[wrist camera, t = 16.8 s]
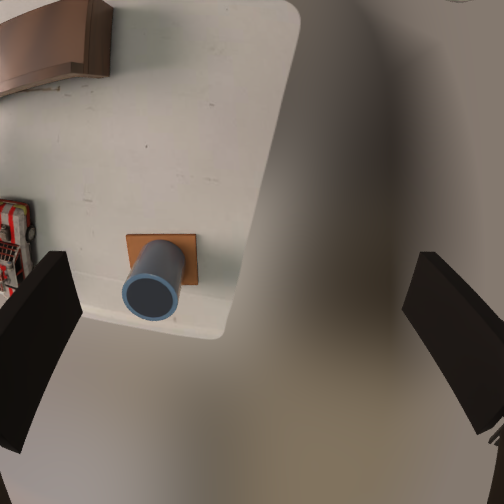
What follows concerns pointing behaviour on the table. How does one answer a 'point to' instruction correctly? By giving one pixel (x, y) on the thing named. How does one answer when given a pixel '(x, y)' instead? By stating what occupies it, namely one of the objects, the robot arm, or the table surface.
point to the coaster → (181, 240)
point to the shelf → (55, 44)
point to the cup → (155, 281)
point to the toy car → (14, 245)
